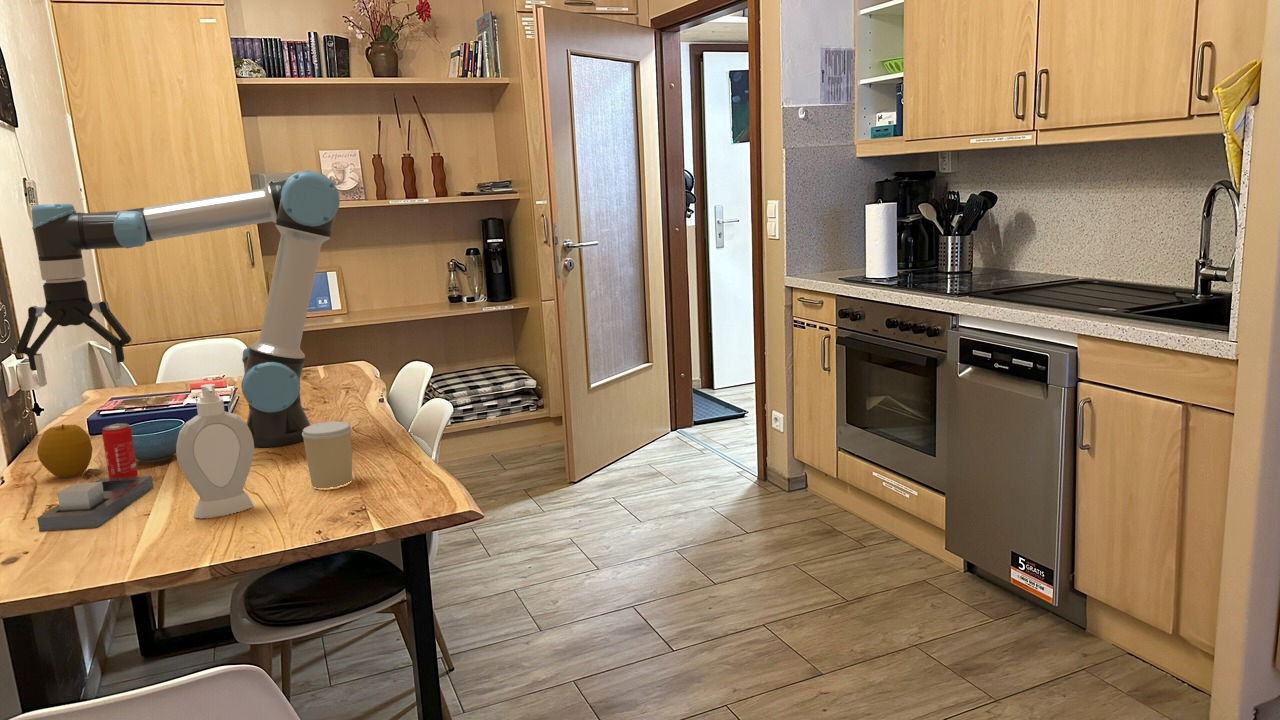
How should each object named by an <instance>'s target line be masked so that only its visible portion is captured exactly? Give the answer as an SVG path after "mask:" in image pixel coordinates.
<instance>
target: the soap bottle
mask: <svg viewBox="0 0 1280 720" xmlns="http://www.w3.org/2000/svg"><path fill="white" fill-rule="evenodd" d="M215 386H216V384H215V383H206V384H201V385H200V388H201V392H202V393H201V394H202V395H201V396H199V400H198V401H196V410H197V415H195V416H193V417H192V418H191V419H189V420H188V421H186V422H185V423H184V424H183V426H182V427H181V429H180V430H179V432H178V436H177V440H176V445H175V449H176V450H175V453H176V454H175V455H176V460H177V463H178V467H179V468H180V470H181V472H182V473H183V475H184V477H185V479H186V480H187V482H188V483H189V484H190V486H191V487H192V489H193V490H194V491H195V493H196V494H197V495H198V496H199V499H198V501H197V503H196V505H195V508H194V511H193V517H194V518H195V519H198V518H199V519H201V520H204V519H203V518H206V519H213V518H212V517H215V518H220V517H219V516H222V517H226V516H225V515H227V516H230V515H229V514H231V515H234V514H233V513H235V514H237V513H236V512H239V513H241V512H240V511H242V512H244V511H243V510H245V511H247V510H246V509H248V510H249V508H250V509H251V508H253V506H254V503H253V501H252V499H251V498H250V496H249V495H248V493H247V492H246V491H244V487H245V484H246V482H247V480H248V479H247V478H248V477H249V474H250V470H251V467H252V462H253V460H254V456H255V455H254V454H255V447H254V440H253V437H252V433H251V431H250V429H249V427H248V425H247V421H246V420H245V419H243V418H242V417H240V416H239V414H235V413H233V412H228V411H225V403H224V398H221V397H220V396H219V394H216V390H215V389H216V388H215Z"/></svg>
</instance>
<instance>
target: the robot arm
mask: <svg viewBox="0 0 1280 720" xmlns="http://www.w3.org/2000/svg"><path fill="white" fill-rule="evenodd" d="M340 200H341V197H340V195H339V191H338V188H337V186H336V184H335V183H334V182H333V181H332V180H331V179H330V177H328V176H326V175H325V174H324V173H320V172H318V171H313V170H301V171H298V172H296V173H294V174H292V175H291V176H289V177H288V178H287V179H283V180H279V181H274V182H269V183H268V182H267V183H266V184H265V186H264V187H263V188H258V189H253V190H247V191H241V192H234V193H228V194H226V193H225V194H221V195H214V196H207V197H200V198H195V199H189V200H183V201H176V202H175V201H174V202H171V203H164V204H163V203H162V204H157V205H150V206H143V207H140V208H139V207H137V208H131V209H125V210H124V209H123V210H118V211H117V210H116V211H115V210H114V211H100V212H99V211H98V212H77V211H76V210H75V206H74V205H73V204H72V203H58V204H57V203H55V204H53V203H51V204H50V203H49V204H36V205H34V206H33V207H32V208H31V211H30V212H31V221H32V230H33V236H34V241H35V245H36V251H37V257H38V264H39V270H40V277H41V280H42V281H45V282H44V283H43V284H42V287H43V293H44V300H45V306H37V305H32V306H30V307H28V309H27V320H26V322H25V323H26V324H25V326H24V328H23V331H22V333H21V335H20V339H19V341H18V342H17V346H16V349H15V352H16V353H17V354H22V355H26V356H27V358H28V363H29V369H30V370H31V371H33V372H34V371H36V374H37V375H36V376H37V381H38V387H39V388H40V387H41V388H43V387H45V386H47V384H48V381H47V376H46V370H45V365H44V360H43V354H42V352H40V353H38V351H39V350H40V349H41V348H42V346H43V344H44V343H45V342H46V340H47V339H48V338H49V337H50V336H51V334H52V332H54V331H55V329H56V328H57V326H61V327H68V326H81V325H83V324H85V325H86V326H87V327H89V328H91V329H92V330H93V331H94V332H95V333H97V334H98V335H99V336H101V337H102V338H103V339H104V340H106V341H107V342H108V343H110V344H111V345H112V347H111V348H110V355H111V359H112V360H111V361H112V367H113V372H114V373H113V374H114V379H115V380H119V379H120V378H122V372H121V364H120V363H123V362H124V361H125V355H124V346H125V345H127V344H130V343H131V342H132V338H131V336H130V335H129V333H128V332H127V331H126V329H125V328H124V327H123V326H122V324H121V322H119V320H118V319H117V318H116V316H115V315H114V314H113V313H112V311H111V309H110V306H109V303H108V301H107V300H102V301H99V302H94V303H92V302H91V300H90V296H89V295H90V294H89V290H88V284H87V281H86V280H84V278H85V277H86V272H85V271H86V270H85V264H84V258H83V254H82V250H86V251H87V250H102V249H103V250H105V249H107V250H109V249H132V248H138V247H143V246H145V245H146V243H150V242H154V241H159V240H160V241H161V240H166V239H172V238H179V237H184V236H191V235H197V234H202V233H209V232H214V231H220V230H221V231H222V230H226V229H234V228H239V227H240V228H241V227H246V226H253V225H257V224H263V223H271V222H273V223H274V224H275V225H274V226H275V227H276V229H277V231H278V232H279V233H280V239H279V243H278V248H277V253H276V256H275V257H276V258H275V263H274V266H273V272H272V277H271V281H270V285H269V291H268V296H267V301H266V304H265V305H266V306H265V310H264V316H263V320H262V325H261V329H260V335H259V339H258V340H257V341H255V342H254V343H252V344H251V345H250V346H249V347H247V348H244V349H243V351H242V359H241V361H242V363H243V371H244V374H243V378H242V380H241V386H240V387H241V392H242V395H243V397H244V399H245V400H246V402H247V403H248V410H249V411H248V415H247V420H246V423H247V425H248V427H249V429H250V431H251V433H252V437H253V440H254V448H271V447H272V448H273V447H281V446H286V445H292V444H296V443H300V442H304V439H303V437H302V432H303V429H304V428H306V427H308V426H310V425H311V423H310V420H309V419H308V417H307V415H306V412H305V410H304V407H303V405H302V403H301V402H302V401H301V400H302V399H301V377H302V372H303V368H304V363H305V359H306V358H305V357H306V354H305V353H304V352H303V350H302V349H301V342H302V337H303V333H304V329H305V325H306V324H305V323H306V320H307V315H308V309H309V305H310V300H311V296H312V290H313V286H314V281H315V276H316V272H317V268H318V267H317V266H318V263H319V257H320V252H321V249H322V245H323V244H324V243H325V242H326V241H329V240H330V239H331V237H332V236H331V235H332V230H333V226H334V222H335V218H336V215H337V213H338V211H339V209H340V202H341V201H340ZM93 310H95V311H97V312H98V313H100V314H101V315H102V316H103V318H104V319H105V320H106V321H107V323H108V324H109V325H110V327H111V328H112V329H113V331H114V332H115V334H117V336H118V337H119V338H118V337H117V336H115V335H114V334H113V333H112V332H110V331H109V330H108V329H107V328H106V327H104V326H103V325H102V324H101V323H99V322H98V321H97V320H96V319H95V318H94V317H93V316H91V313H92V312H93ZM43 313H45V314H46V315H47V316H48V317H49V318H50V321H49V322H48V323H47V325H46V326H45V328H43V330H42V331H41V332H40V334H39V335H38V337H36V339H35V340H34V342H33V343H32V344H31V346H30V347H28V346H29V343H30V341H31V338H32V335H33V334H34V331H35V327H36V325H37V322H38V320H39V318H41V317H42V316H43Z"/></svg>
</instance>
